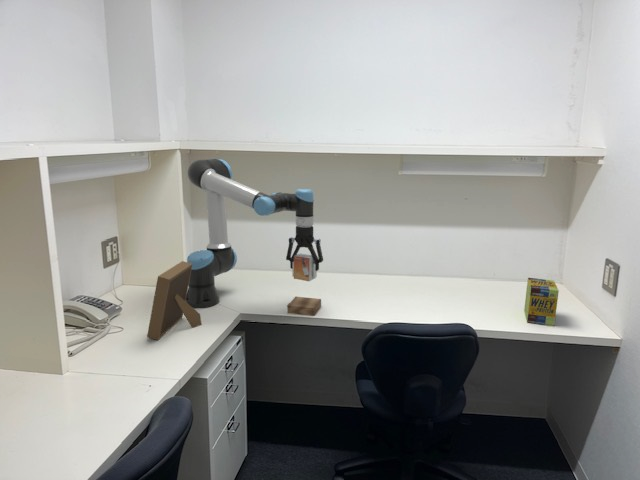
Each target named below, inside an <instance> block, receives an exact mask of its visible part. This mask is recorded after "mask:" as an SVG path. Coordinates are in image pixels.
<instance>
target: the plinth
mask: <svg viewBox="0 0 640 480" xmlns="http://www.w3.org/2000/svg"><path fill="white" fill-rule="evenodd" d="M321 307H322V298H315V297H303V296H295V297H294V298H293V299H292V300H290V302H289V303H288V304H287V314H292V315H301V316H308V315H309V316H308V317H310V316H311V317H315V315H317V313H318V312H319V310H320V309H321Z"/></svg>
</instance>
